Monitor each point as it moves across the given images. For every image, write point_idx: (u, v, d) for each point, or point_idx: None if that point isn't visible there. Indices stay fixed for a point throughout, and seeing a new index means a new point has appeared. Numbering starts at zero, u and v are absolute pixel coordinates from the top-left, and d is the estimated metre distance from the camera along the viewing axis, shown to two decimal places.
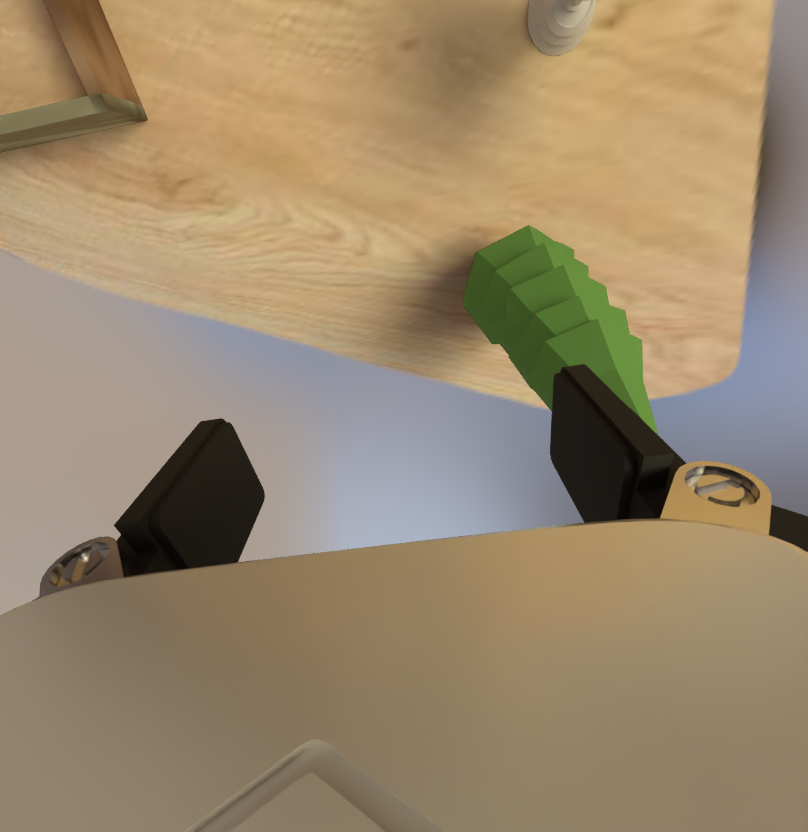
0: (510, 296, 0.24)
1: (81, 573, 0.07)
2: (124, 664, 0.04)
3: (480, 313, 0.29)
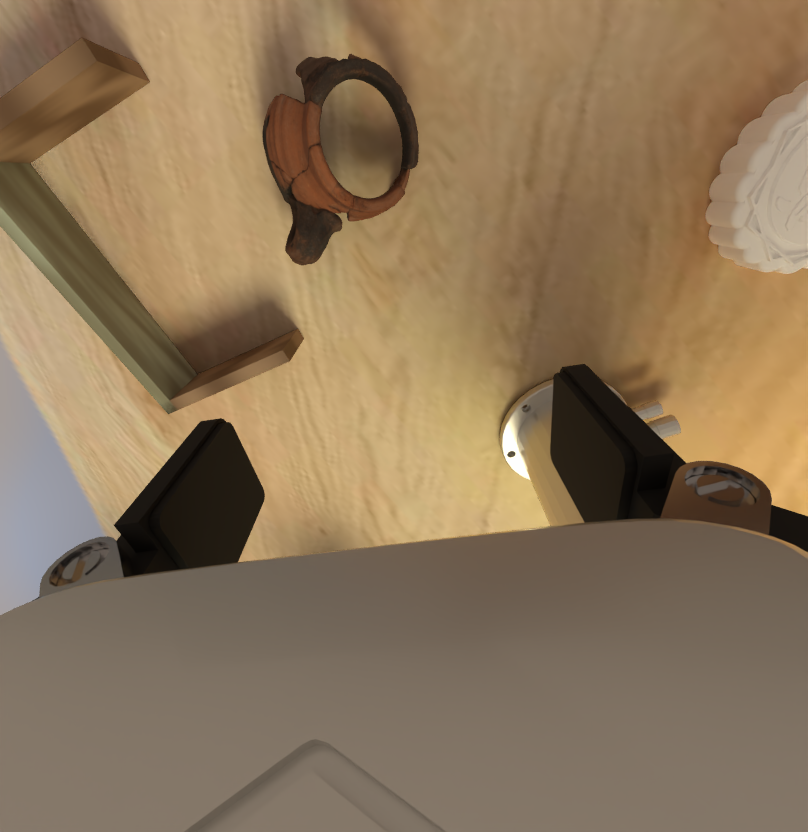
0: None
1: (81, 573, 0.07)
2: (125, 664, 0.04)
3: None
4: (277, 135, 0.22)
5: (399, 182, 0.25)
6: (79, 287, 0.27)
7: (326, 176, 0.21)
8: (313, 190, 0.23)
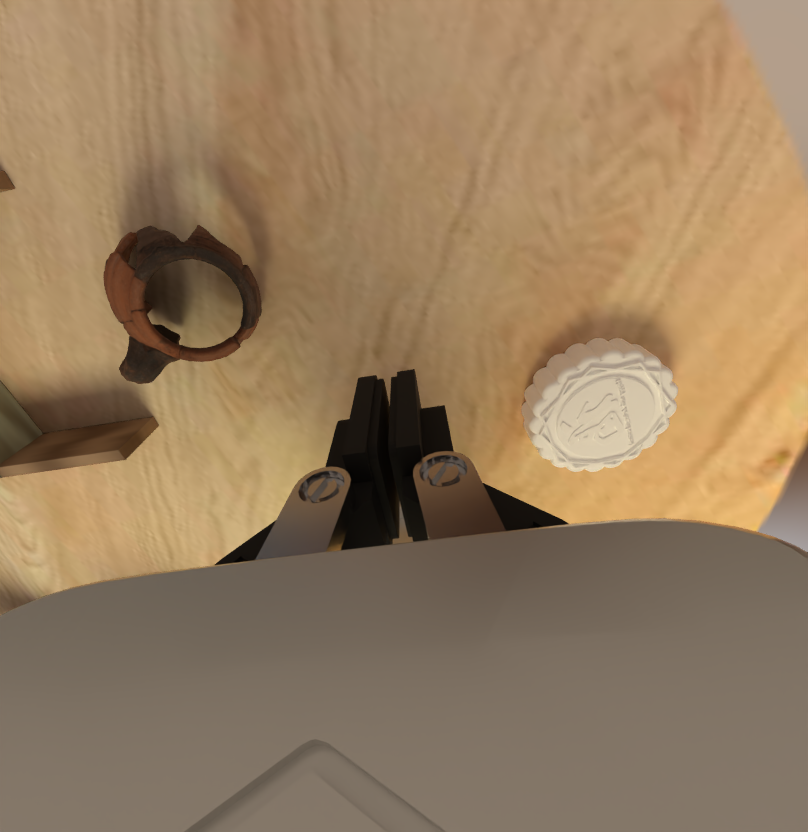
0: None
1: None
2: (124, 664, 0.04)
3: None
4: (109, 285, 0.23)
5: (239, 333, 0.27)
6: None
7: (148, 334, 0.23)
8: (142, 335, 0.24)
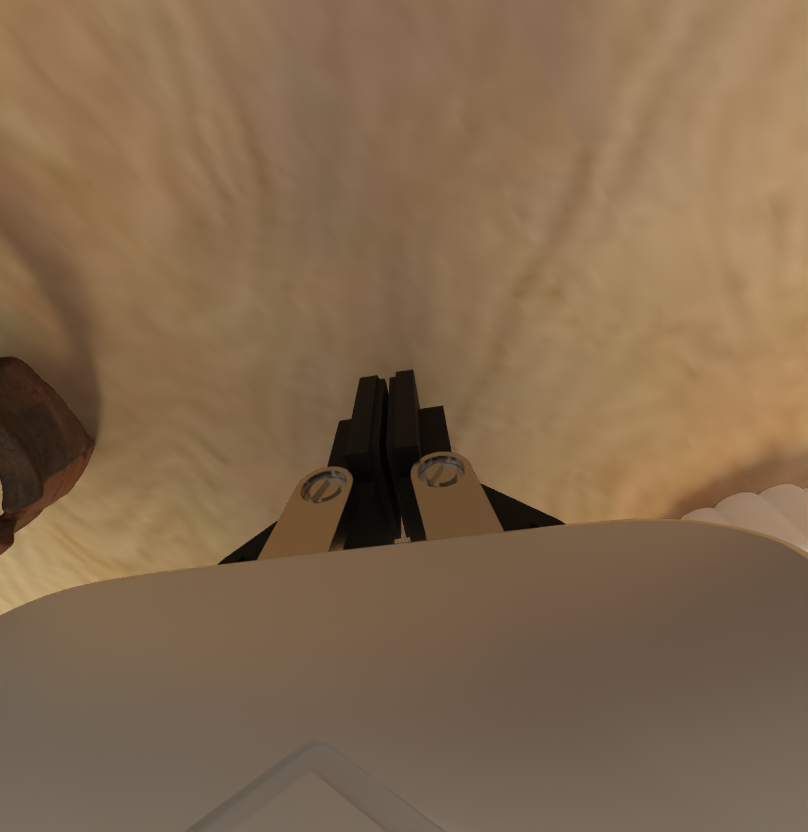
0: None
1: None
2: (124, 664, 0.04)
3: None
4: None
5: None
6: None
7: None
8: None
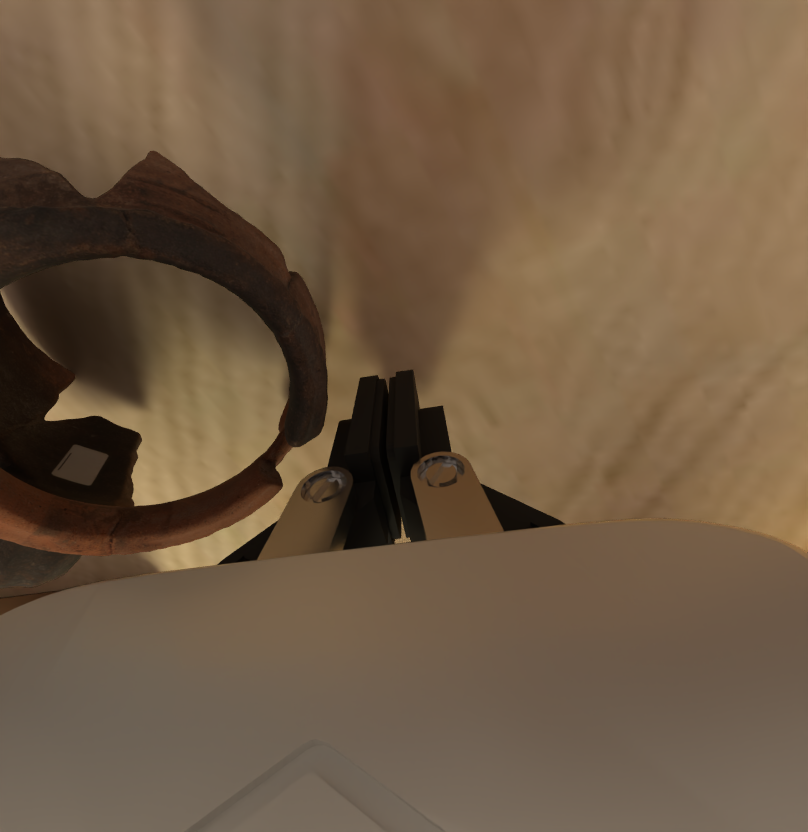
0: None
1: None
2: (124, 664, 0.04)
3: None
4: None
5: (278, 449, 0.10)
6: None
7: None
8: None
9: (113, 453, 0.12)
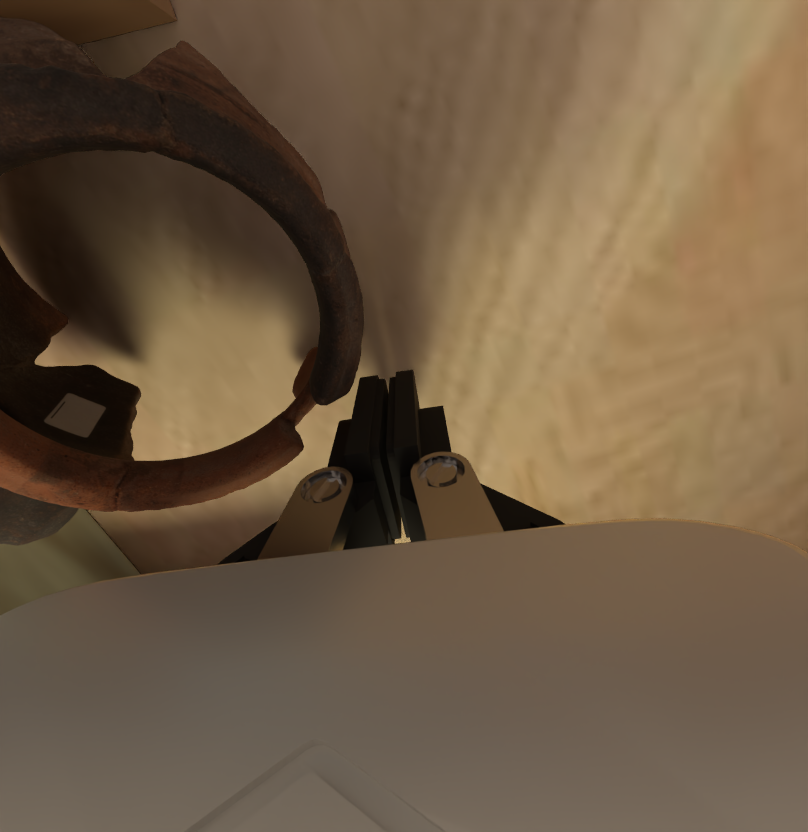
0: None
1: None
2: (124, 664, 0.04)
3: None
4: None
5: (299, 408, 0.10)
6: None
7: None
8: None
9: (111, 406, 0.11)
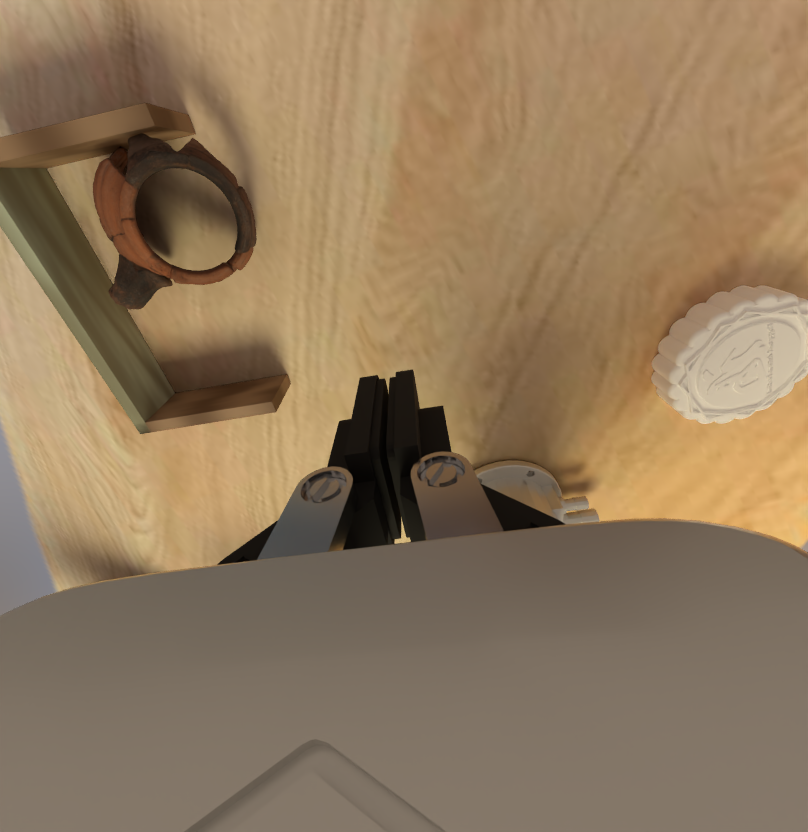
0: None
1: None
2: (124, 664, 0.04)
3: None
4: (98, 194, 0.22)
5: (233, 259, 0.26)
6: (76, 304, 0.27)
7: (139, 247, 0.22)
8: (132, 251, 0.24)
9: None
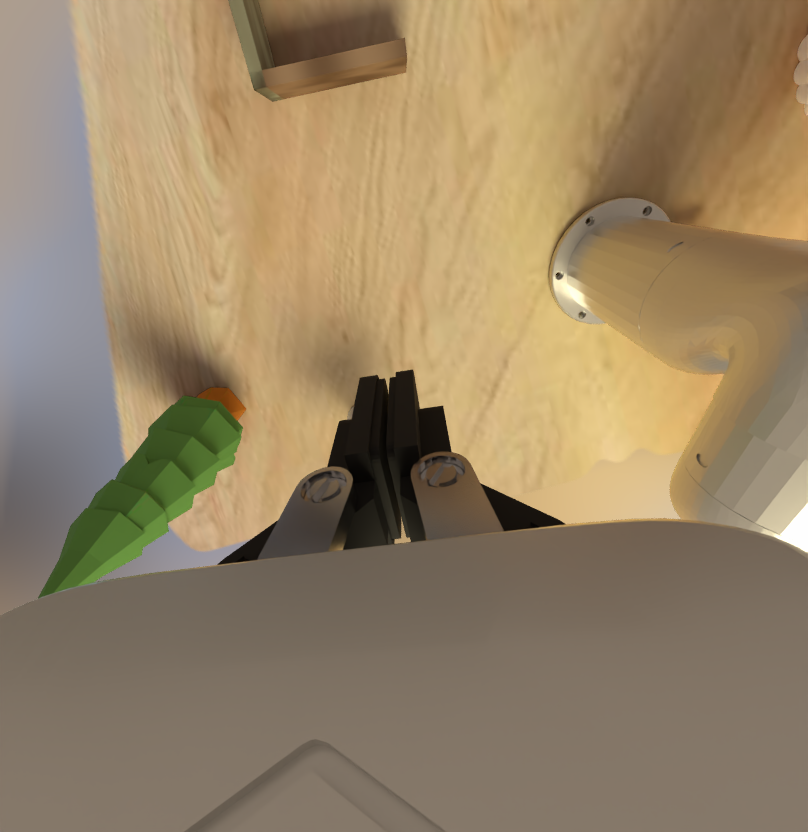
0: (164, 462, 0.35)
1: None
2: (124, 664, 0.04)
3: (159, 429, 0.38)
4: None
5: None
6: None
7: None
8: None
9: None
